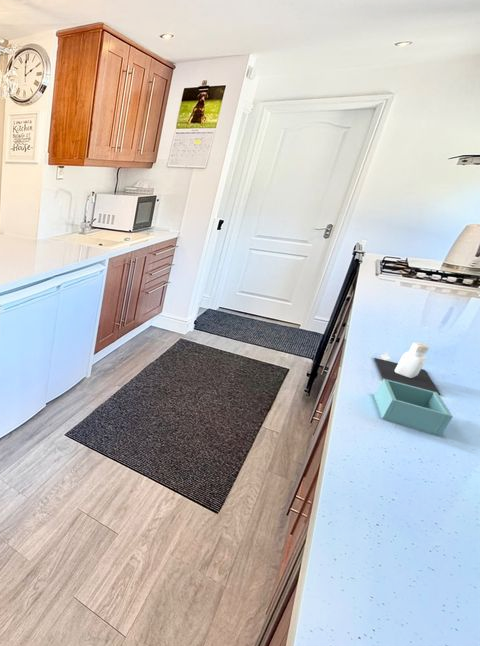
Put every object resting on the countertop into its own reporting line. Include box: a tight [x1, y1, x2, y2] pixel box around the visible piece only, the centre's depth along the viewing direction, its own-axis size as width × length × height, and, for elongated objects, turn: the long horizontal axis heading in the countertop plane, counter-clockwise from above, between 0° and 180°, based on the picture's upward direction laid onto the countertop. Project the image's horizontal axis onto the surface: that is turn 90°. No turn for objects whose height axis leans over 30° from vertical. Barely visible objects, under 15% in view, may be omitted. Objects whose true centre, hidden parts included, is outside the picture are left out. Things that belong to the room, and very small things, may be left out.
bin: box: [373, 379, 453, 437], centre depth 95 cm, size 10×13×5 cm
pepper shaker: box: [395, 341, 430, 378], centre depth 113 cm, size 4×4×10 cm
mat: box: [373, 357, 441, 396], centre depth 115 cm, size 11×17×1 cm, turn 143°
